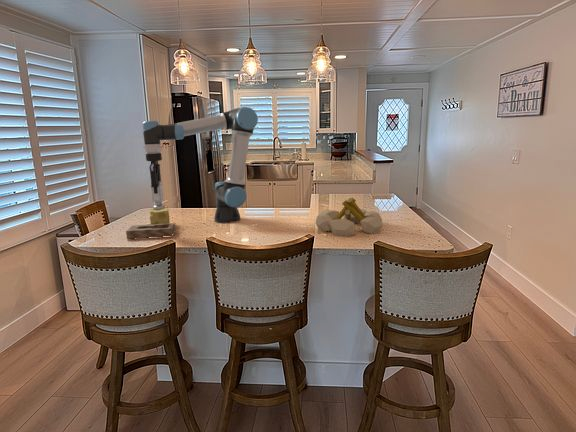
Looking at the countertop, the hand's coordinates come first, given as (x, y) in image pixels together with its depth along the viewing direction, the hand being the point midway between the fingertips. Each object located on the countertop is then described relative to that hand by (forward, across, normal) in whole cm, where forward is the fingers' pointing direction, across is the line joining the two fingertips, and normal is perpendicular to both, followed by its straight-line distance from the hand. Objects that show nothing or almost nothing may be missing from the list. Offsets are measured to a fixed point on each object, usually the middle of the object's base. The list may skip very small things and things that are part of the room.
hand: (158, 198), depth 207 cm
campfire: (+19, +8, +98) cm, 100 cm away
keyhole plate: (+19, 0, -5) cm, 20 cm away
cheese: (+19, -18, -4) cm, 27 cm away
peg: (+5, 0, 0) cm, 5 cm away
